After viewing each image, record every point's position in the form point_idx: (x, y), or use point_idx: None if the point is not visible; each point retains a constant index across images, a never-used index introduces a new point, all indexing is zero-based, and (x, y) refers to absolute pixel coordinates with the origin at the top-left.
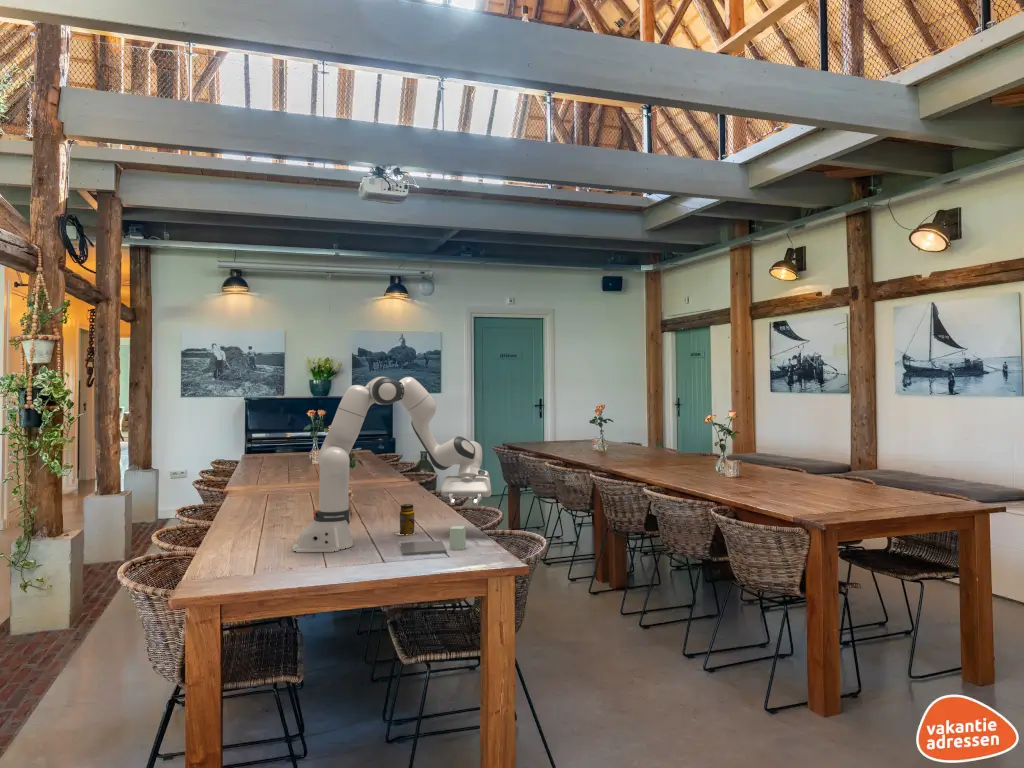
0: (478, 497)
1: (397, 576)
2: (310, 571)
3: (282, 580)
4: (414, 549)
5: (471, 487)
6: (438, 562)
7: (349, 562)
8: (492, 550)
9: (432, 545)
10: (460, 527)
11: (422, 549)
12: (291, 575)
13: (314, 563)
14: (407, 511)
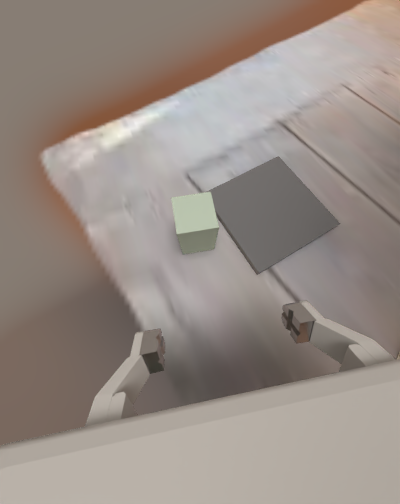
0: (120, 373)
1: (215, 75)
2: (346, 68)
3: (344, 39)
4: (272, 182)
5: (194, 500)
6: (189, 140)
7: (332, 109)
8: (111, 240)
9: (254, 221)
10: (185, 212)
11: (256, 186)
12: (353, 53)
13: (378, 95)
14: None
